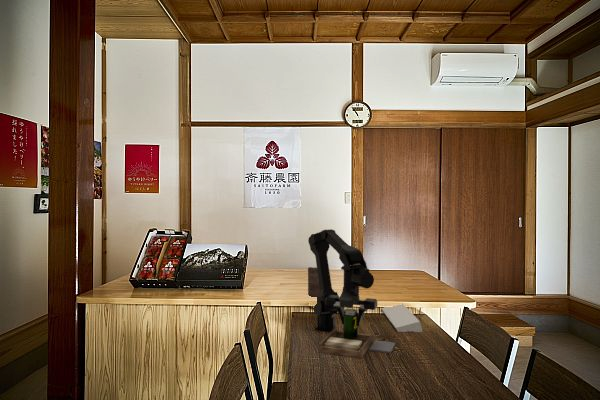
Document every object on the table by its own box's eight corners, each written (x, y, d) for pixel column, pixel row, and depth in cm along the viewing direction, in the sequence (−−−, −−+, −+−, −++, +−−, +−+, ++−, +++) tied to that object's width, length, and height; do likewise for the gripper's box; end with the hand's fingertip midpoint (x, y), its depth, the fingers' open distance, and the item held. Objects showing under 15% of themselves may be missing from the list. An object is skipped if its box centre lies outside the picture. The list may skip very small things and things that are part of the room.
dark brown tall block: (305, 308, 215) (305, 267, 215) (310, 305, 222) (310, 265, 222) (320, 310, 212) (321, 268, 212) (325, 306, 219) (325, 266, 219)
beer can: (341, 343, 165) (342, 311, 165) (345, 339, 170) (346, 307, 170) (355, 345, 163) (356, 312, 163) (359, 341, 168) (359, 309, 168)
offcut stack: (324, 350, 158) (324, 340, 158) (329, 346, 163) (329, 336, 163) (359, 356, 153) (359, 345, 153) (363, 350, 158) (363, 340, 158)
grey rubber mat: (369, 350, 159) (369, 348, 159) (375, 341, 168) (375, 340, 168) (390, 353, 156) (390, 351, 156) (395, 344, 165) (395, 342, 165)
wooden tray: (318, 352, 157) (318, 343, 157) (335, 335, 175) (335, 328, 175) (362, 358, 151) (362, 349, 151) (374, 340, 169) (374, 332, 169)
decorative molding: (398, 339, 181) (422, 332, 181) (395, 327, 181) (419, 321, 181) (382, 316, 215) (402, 310, 215) (379, 306, 215) (400, 300, 215)
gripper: (320, 285, 162) (320, 328, 163) (371, 289, 156) (370, 334, 156) (329, 279, 173) (329, 320, 173) (377, 283, 166) (377, 325, 166)
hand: (350, 324), depth 167 cm, fingers closed on beer can, 5 cm apart
